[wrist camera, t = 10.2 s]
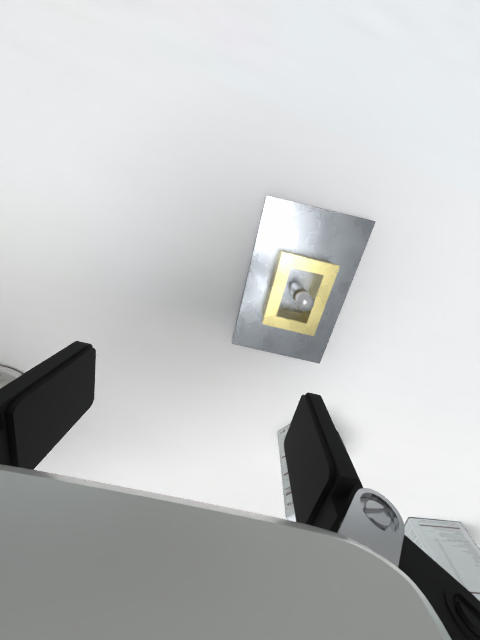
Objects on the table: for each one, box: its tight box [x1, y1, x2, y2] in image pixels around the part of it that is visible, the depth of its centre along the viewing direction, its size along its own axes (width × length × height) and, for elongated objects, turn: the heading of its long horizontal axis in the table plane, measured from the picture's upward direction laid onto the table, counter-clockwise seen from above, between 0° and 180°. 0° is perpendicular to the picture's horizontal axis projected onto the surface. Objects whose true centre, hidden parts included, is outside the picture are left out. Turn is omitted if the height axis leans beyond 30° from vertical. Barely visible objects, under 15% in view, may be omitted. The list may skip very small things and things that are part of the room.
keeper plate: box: [232, 196, 375, 363], centre depth 27 cm, size 18×12×7 cm, turn 167°
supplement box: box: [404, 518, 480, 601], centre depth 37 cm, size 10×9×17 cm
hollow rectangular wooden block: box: [262, 249, 340, 336], centre depth 27 cm, size 8×6×4 cm
